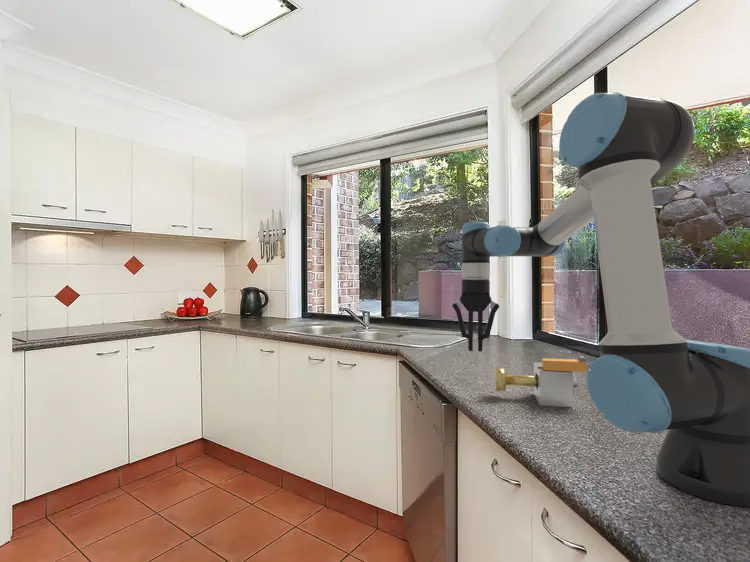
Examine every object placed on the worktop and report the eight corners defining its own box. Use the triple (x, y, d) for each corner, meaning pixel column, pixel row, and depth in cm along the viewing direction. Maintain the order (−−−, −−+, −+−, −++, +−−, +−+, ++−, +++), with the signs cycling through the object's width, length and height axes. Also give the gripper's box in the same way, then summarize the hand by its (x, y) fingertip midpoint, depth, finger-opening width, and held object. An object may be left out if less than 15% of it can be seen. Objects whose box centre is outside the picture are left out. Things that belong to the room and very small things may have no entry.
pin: (560, 397, 107) (560, 373, 107) (496, 394, 111) (496, 370, 110) (555, 390, 113) (555, 367, 113) (494, 387, 117) (494, 365, 117)
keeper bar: (585, 371, 104) (586, 358, 104) (543, 370, 106) (543, 356, 106) (582, 369, 107) (582, 355, 107) (541, 367, 109) (542, 354, 109)
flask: (580, 387, 122) (581, 354, 122) (555, 386, 124) (555, 353, 124) (574, 381, 129) (574, 349, 129) (549, 380, 131) (549, 348, 131)
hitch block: (573, 407, 105) (573, 371, 105) (539, 405, 107) (539, 369, 106) (564, 395, 115) (564, 362, 114) (533, 393, 116) (533, 361, 116)
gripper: (498, 278, 116) (498, 360, 117) (452, 278, 119) (452, 358, 120) (501, 279, 109) (500, 367, 110) (451, 279, 112) (451, 364, 113)
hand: (475, 362), depth 115 cm, fingers closed
